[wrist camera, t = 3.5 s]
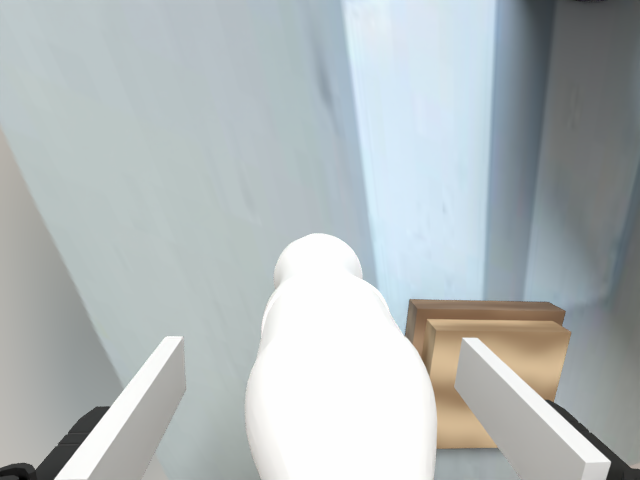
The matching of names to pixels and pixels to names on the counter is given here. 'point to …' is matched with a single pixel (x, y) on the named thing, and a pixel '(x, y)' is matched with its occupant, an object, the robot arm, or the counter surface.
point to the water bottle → (336, 377)
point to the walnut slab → (474, 314)
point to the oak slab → (506, 343)
